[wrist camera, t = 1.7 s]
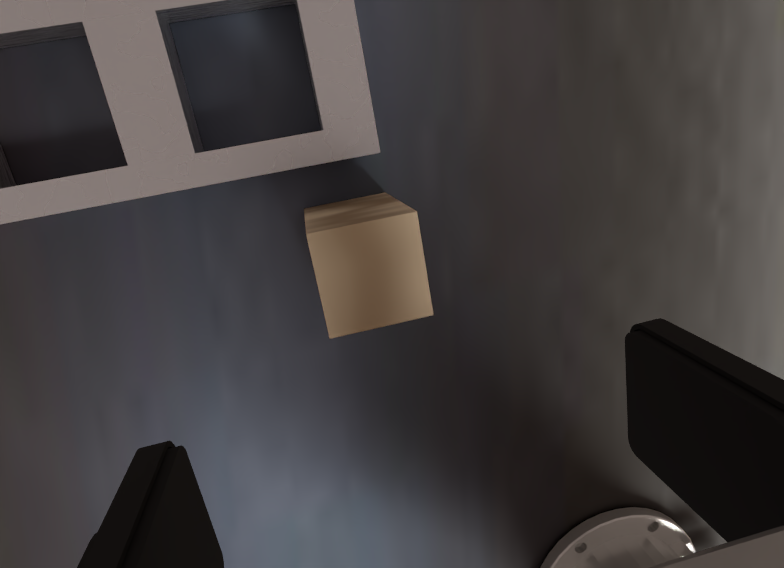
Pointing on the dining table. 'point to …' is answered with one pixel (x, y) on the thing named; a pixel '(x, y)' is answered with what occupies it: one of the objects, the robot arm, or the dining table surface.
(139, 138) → the rail
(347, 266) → the beech block
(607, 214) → the dining table surface
